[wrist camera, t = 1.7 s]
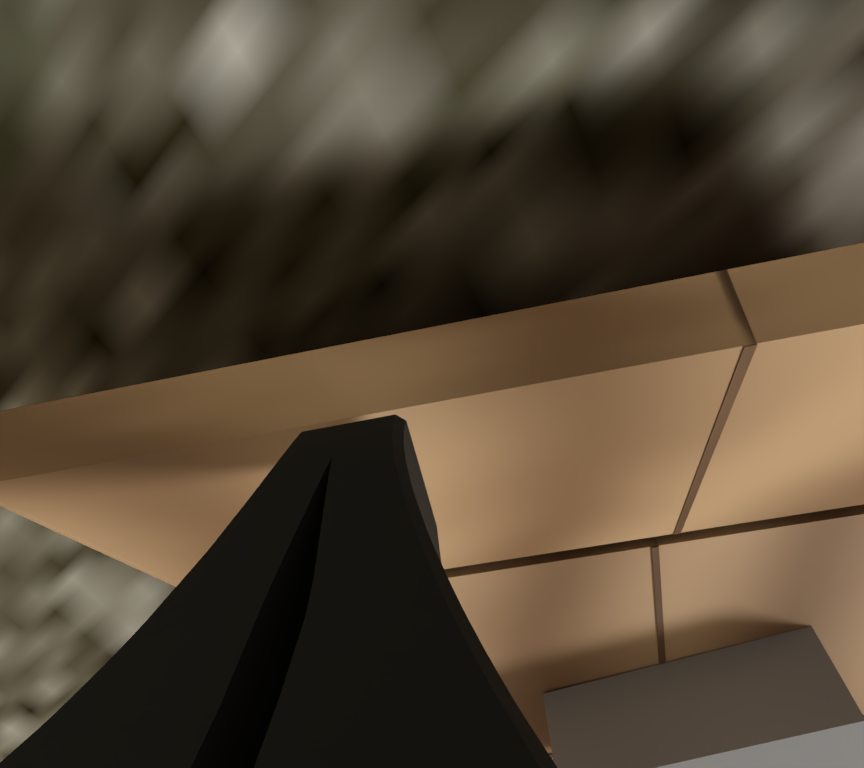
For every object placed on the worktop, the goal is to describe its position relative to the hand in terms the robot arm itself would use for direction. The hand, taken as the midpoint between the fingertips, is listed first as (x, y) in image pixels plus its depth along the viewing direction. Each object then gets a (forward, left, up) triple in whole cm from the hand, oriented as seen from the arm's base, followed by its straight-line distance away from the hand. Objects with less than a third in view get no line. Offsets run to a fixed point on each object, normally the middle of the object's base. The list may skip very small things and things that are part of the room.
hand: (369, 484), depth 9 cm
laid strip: (-2, +11, -6) cm, 12 cm away
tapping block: (-5, +12, -5) cm, 14 cm away
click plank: (-2, +2, -4) cm, 5 cm away
